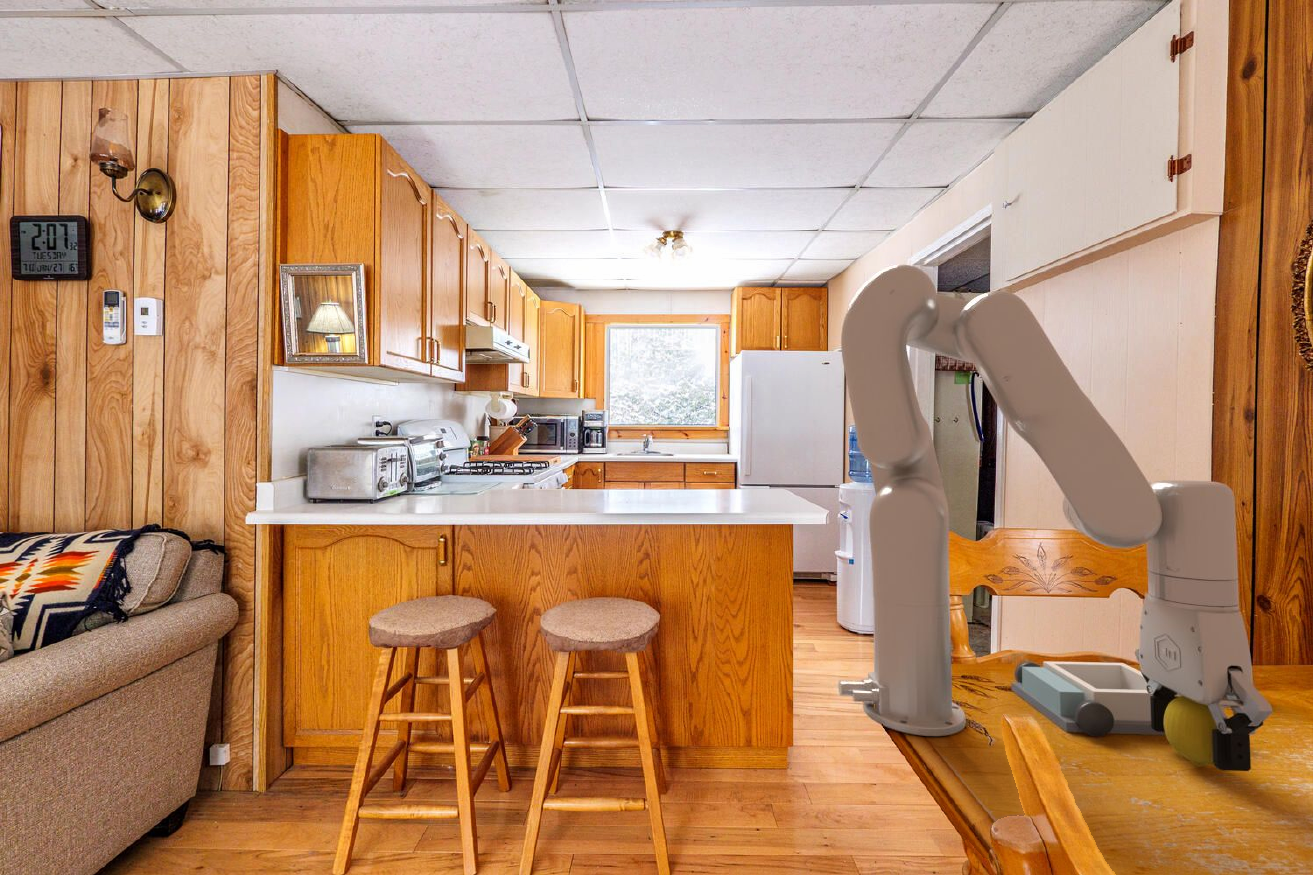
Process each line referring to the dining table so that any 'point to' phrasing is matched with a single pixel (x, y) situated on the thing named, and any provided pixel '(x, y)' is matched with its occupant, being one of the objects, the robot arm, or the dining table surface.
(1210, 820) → the dining table surface
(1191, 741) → the lemon
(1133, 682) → the chassis
